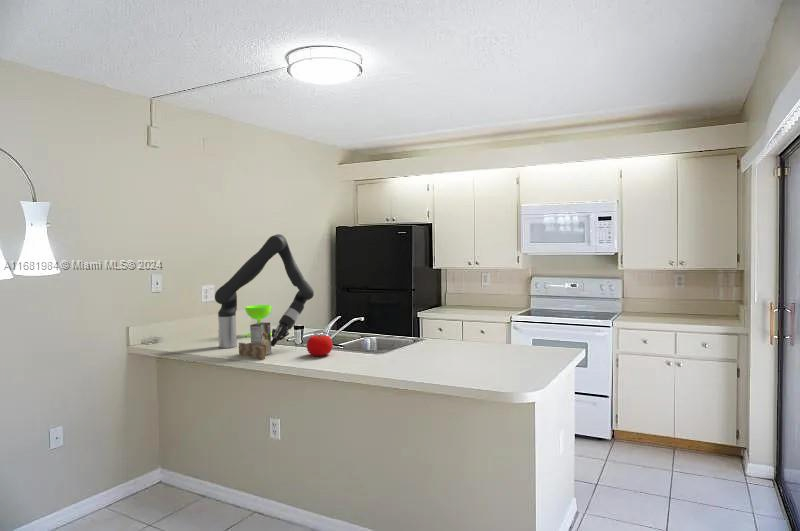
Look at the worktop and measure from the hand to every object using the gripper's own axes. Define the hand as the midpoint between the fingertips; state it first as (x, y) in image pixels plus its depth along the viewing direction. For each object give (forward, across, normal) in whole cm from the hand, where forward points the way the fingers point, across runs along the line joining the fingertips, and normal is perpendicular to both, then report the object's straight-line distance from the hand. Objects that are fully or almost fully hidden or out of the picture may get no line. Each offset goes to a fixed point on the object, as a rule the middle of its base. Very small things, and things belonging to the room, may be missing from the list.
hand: (271, 345), depth 294 cm
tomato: (-5, +25, +12) cm, 28 cm away
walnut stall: (+10, 0, -4) cm, 11 cm away
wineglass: (-17, -56, +24) cm, 63 cm away
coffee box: (+7, -1, -1) cm, 7 cm away
